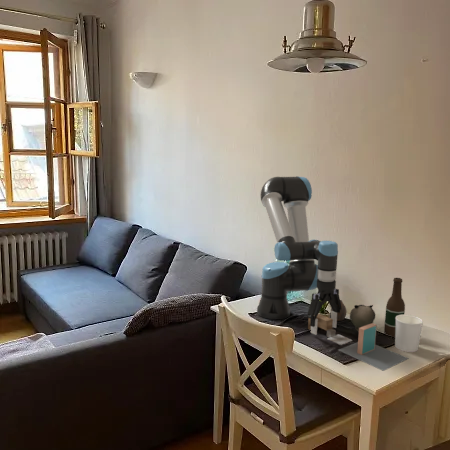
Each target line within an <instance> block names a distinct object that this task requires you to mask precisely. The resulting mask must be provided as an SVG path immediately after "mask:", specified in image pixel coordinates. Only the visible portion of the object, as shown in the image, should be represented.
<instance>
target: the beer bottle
mask: <svg viewBox="0 0 450 450" xmlns="http://www.w3.org/2000/svg"><path fill="white" fill-rule="evenodd" d="M392 282H393V286H392V291H391V296H390V297H389V298H388V300H387V301H386V307H385V316H384V327H383V332H384V335H386V336H389V337H392V338H395V326H396V316H398V315H405V312H406V303H405V301H404V299H403V296H402V283H403V278H401V277H393V280H392Z"/></svg>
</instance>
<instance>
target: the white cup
mask: <svg viewBox="0 0 450 450" xmlns="http://www.w3.org/2000/svg"><path fill="white" fill-rule="evenodd" d="M423 322H424V321H423V319H422V318H420V317H418V316H416V315H412V314H404V315H398V316H396V326H395V337H394V346H395V348H396V349H397V350H399V351H403V352H406V353H407V352H408V353H414V352H417V351H418V350H419V347H420V346H419V345H420V341H421V334H422V328H423Z"/></svg>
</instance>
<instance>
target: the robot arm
mask: <svg viewBox="0 0 450 450" xmlns="http://www.w3.org/2000/svg"><path fill="white" fill-rule="evenodd" d="M312 194H313V189H312V184H311V182H310V181H309V179H308V178H307V177H305V176H273V177H271V178H269V179H268V180H267V181H266V182H265V183H264V184H263V186H262V187H261V189H260V201H261V203H262V206H263V207H264V208H265V210H266V213H267V215H268V219H269V222H270V224H271V228H272V231H273V234H274V237H275V240H276V243H275V244H274V248H273V249H274V250H273V251H274V256H275V259H276V260H277V261H274V262H269V263H267V264H265V265H264V266H263V267H262V270H261V294H260V295H261V296H260V299H259V303H258V306H257V308H256V313H257V315H258V316H260V317H262V318H264V319H268V320H282V319H286V318H289V317H290V315H291V308H290V304H289V302H288V298H287V297H288V292H297V291H298V292H301V291H305V292H306V291H312V290H318V291H317V293H314V292H313V293H312V294H311V300H310V304H309V307H308V310H307V315H306V318H307V319H308V318H310V319H311V320H310V326H311V331H310V333H311V334H312V335H315V336H316V335H317V334H318V327H317V321H318V319H316V318H317V316H318V314H320V311H321V309H322V307H323V305H325V303H327V302H328V304H329V306H330V309H331V308H332V310H333V311H331V310H330V318H331V319H333V324H332V328H333V329H334V328H335V329H336V328H337V325H338V324H337V323H338V321H337V315H338V313H340V310H341V309H342V307H341V302H340V300H341V298H340V295H339V294H340V289H338V288H336V286H337V285H336V284H337V281H336V279H337V270H338V269H337V268H338V256H339V255H338V254H339V249H338V248H339V245H338V243H337V242H336V241H334V240H333V241H332V240H318V239H311V240H310V236H309V229H308V219H307V218H308V217H307V209H306V208H307V206H308V205H309V201H310V200H312ZM282 202H283V203H282ZM284 207H285V209H287V213H286V212H285V211H286V210H285V209H284ZM288 261H289V262H288ZM315 261H317V264H316V263H315ZM287 262H288V263H287Z"/></svg>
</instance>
